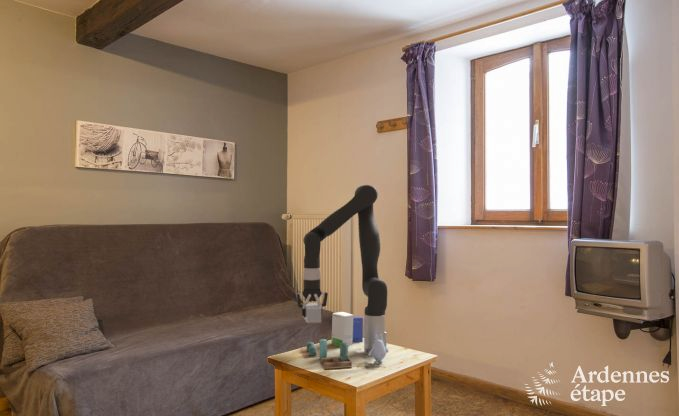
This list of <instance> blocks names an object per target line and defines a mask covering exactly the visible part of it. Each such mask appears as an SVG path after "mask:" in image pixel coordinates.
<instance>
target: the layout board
mask: <svg viewBox="0 0 679 416" xmlns="http://www.w3.org/2000/svg"><path fill="white" fill-rule="evenodd" d="M314 344H315V343H314V342H313V341H307V342H306V348H304V349H303V348H301V349H299V350H300V352H301V354H302V356H303V358H304V359H311V358H312V359H314V358H315V359H316V358H319V347H317V346H315V345H314Z"/></svg>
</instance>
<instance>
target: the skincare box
mask: <svg viewBox="0 0 679 416" xmlns="http://www.w3.org/2000/svg"><path fill="white" fill-rule="evenodd" d="M354 315H355V314H352V313H349V312H346V311H345V312H344V311H338V312H332V319H331V320H332V321H331V343H330V344H331V345H334V346H335V347H336V346H337V347H340V343H348V347H349V346H351V347H353V342H352V340H353V317H355V316H354Z"/></svg>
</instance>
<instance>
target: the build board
mask: <svg viewBox="0 0 679 416" xmlns="http://www.w3.org/2000/svg"><path fill="white" fill-rule="evenodd" d="M320 362H321V364H322V366H323V367H324V368H323V370H324V371H337V370H348V369H349V370H352V365H353V364H352V361H351V359H349V346H348V343H340V346H339V356H333V357H331V356H330V357H327V358H321V360H320Z"/></svg>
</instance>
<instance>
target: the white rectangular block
mask: <svg viewBox="0 0 679 416" xmlns="http://www.w3.org/2000/svg"><path fill="white" fill-rule="evenodd" d="M305 309H306V317H304V316H303V315H302V318H303V319H304V321H305V322H306V323H307V324H316V323H317V324H318V323H320V324H321V323H322V315H321V308H320V306H319V305H318V304H317V302H315V303H314V302H311V303H310V302H308V303H307V305H306V307H305Z"/></svg>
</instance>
